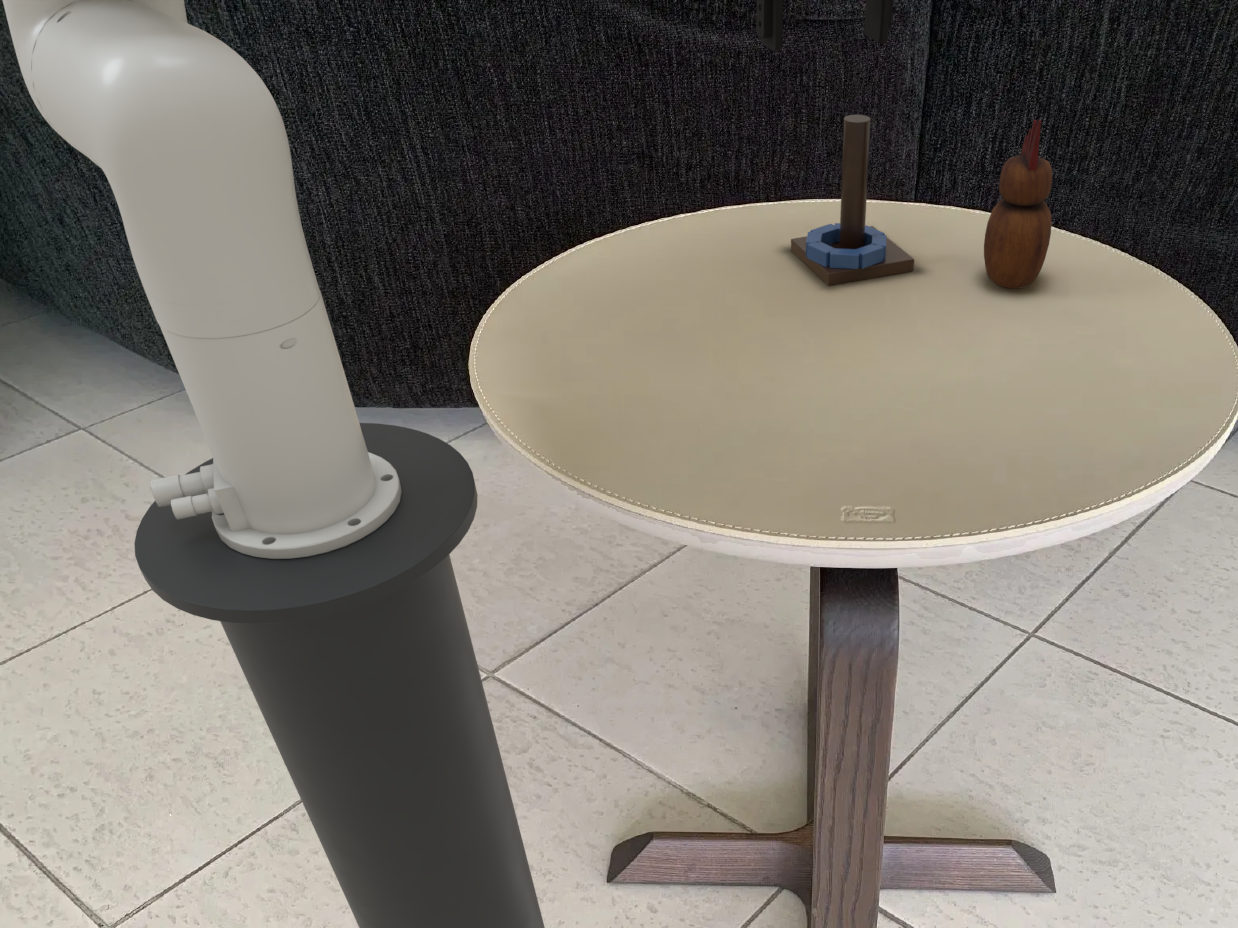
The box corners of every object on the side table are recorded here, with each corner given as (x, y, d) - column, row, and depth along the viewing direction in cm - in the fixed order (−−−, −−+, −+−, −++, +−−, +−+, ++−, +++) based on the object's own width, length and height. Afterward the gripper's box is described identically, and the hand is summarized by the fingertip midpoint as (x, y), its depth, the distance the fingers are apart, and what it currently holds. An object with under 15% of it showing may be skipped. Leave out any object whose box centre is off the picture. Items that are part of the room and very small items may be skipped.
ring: (843, 275, 99) (843, 261, 98) (790, 250, 103) (790, 236, 102) (902, 255, 103) (903, 240, 102) (848, 231, 107) (849, 217, 106)
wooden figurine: (1035, 300, 98) (1062, 128, 88) (973, 290, 99) (993, 120, 90) (1047, 271, 103) (1075, 106, 93) (988, 262, 104) (1010, 99, 95)
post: (828, 286, 100) (832, 139, 91) (790, 250, 106) (791, 110, 98) (913, 271, 103) (925, 127, 94) (872, 237, 109) (879, 99, 100)
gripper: (742, -207, 74) (745, 62, 85) (959, -206, 80) (935, 46, 91) (706, -213, 80) (713, 40, 90) (911, -212, 85) (894, 27, 96)
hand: (824, 43), depth 91 cm, fingers open, 9 cm apart
